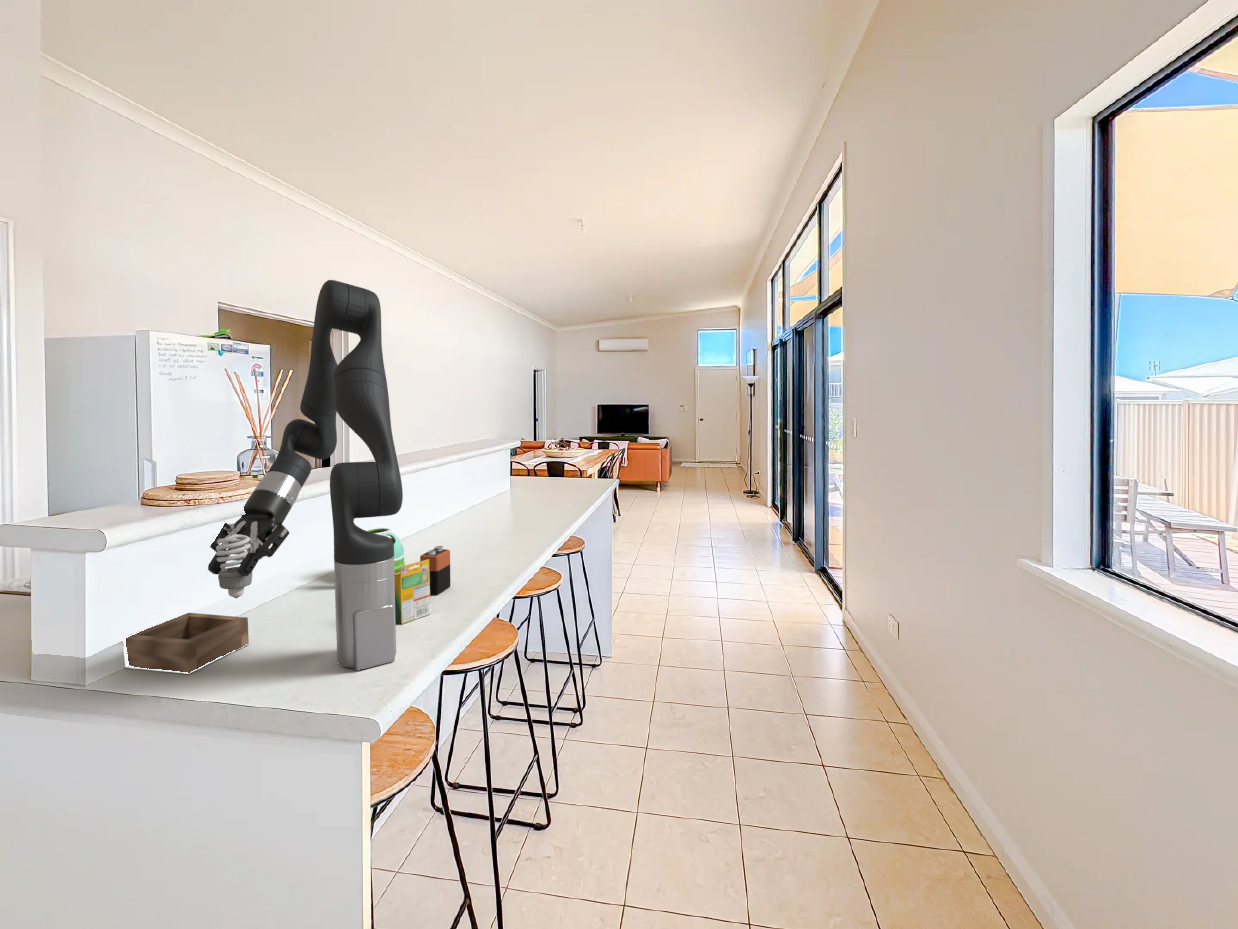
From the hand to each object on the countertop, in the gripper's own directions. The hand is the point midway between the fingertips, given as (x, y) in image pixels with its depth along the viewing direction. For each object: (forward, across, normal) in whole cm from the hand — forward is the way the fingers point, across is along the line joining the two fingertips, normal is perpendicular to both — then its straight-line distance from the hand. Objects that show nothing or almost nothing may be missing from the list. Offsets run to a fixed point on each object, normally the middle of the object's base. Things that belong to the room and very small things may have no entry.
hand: (227, 572), depth 108 cm
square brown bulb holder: (+15, +1, +1) cm, 15 cm away
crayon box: (-2, +28, +19) cm, 34 cm away
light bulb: (+3, 0, +5) cm, 6 cm away
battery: (-14, +24, +31) cm, 42 cm away
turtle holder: (-18, +5, +35) cm, 40 cm away
